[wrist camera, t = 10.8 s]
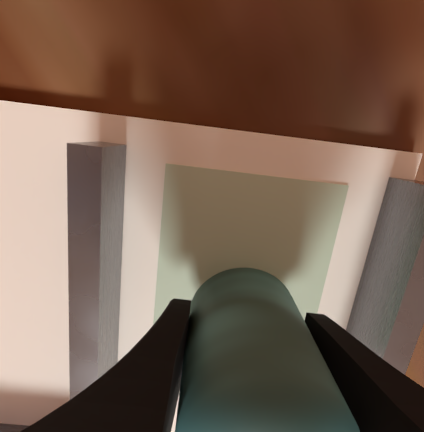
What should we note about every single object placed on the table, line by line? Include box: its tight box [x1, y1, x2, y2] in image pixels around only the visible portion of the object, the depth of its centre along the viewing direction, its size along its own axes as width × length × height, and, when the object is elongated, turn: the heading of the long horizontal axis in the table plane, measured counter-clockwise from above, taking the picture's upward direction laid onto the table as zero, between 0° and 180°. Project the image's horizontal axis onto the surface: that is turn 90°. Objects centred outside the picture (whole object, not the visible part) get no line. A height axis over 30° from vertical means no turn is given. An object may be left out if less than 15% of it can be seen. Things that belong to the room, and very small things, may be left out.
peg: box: [175, 268, 360, 432], centre depth 8 cm, size 4×4×5 cm
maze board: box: [0, 100, 422, 432], centre depth 14 cm, size 20×28×1 cm
